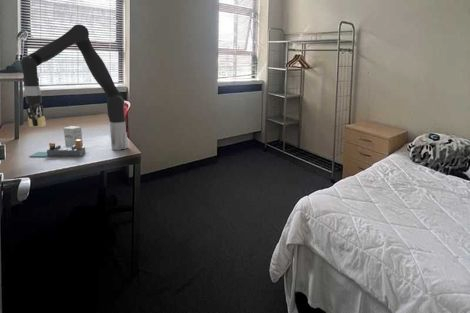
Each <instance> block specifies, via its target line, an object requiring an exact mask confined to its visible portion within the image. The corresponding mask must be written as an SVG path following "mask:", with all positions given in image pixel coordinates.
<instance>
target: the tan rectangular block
mask: <svg viewBox="0 0 470 313" xmlns="http://www.w3.org/2000/svg"><path fill="white" fill-rule="evenodd" d="M27 122H28V126H29V127H30V128H34V127H35V128H36V127H41V128H43V127H45V126H47V122H46V117H45V116H44V115H43V116H37V124H38V126H33V122H32V119H29V116H28V117H27Z"/></svg>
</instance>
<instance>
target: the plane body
mask: <svg viewBox="0 0 470 313" xmlns="http://www.w3.org/2000/svg"><path fill="white" fill-rule="evenodd" d="M82 141H83V138H82V139H77V140H76V141H75V142H76V145H73V146H72V147H66V146H61V144H58V145H56V143H55V142H49V143H48V145H49V146H48V147H49V148H48V149H46V152H47V156H48V157H47V158H82V157H83V155H85V154H86V147H85V146H82Z"/></svg>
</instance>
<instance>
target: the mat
mask: <svg viewBox="0 0 470 313" xmlns="http://www.w3.org/2000/svg"><path fill="white" fill-rule="evenodd" d="M29 158H49V157H48V156H47V151H36V152H35V153H33V154H31V155H30V156H29Z"/></svg>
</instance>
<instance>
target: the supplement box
mask: <svg viewBox="0 0 470 313" xmlns="http://www.w3.org/2000/svg"><path fill="white" fill-rule="evenodd" d="M63 135H64V144H65V147H72V146H73V145H76V142H75V141H76V140H77V139H82V147H84V143H83V133H82V126H77V125H76V126H74V125H70V126H66V127H63Z"/></svg>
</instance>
